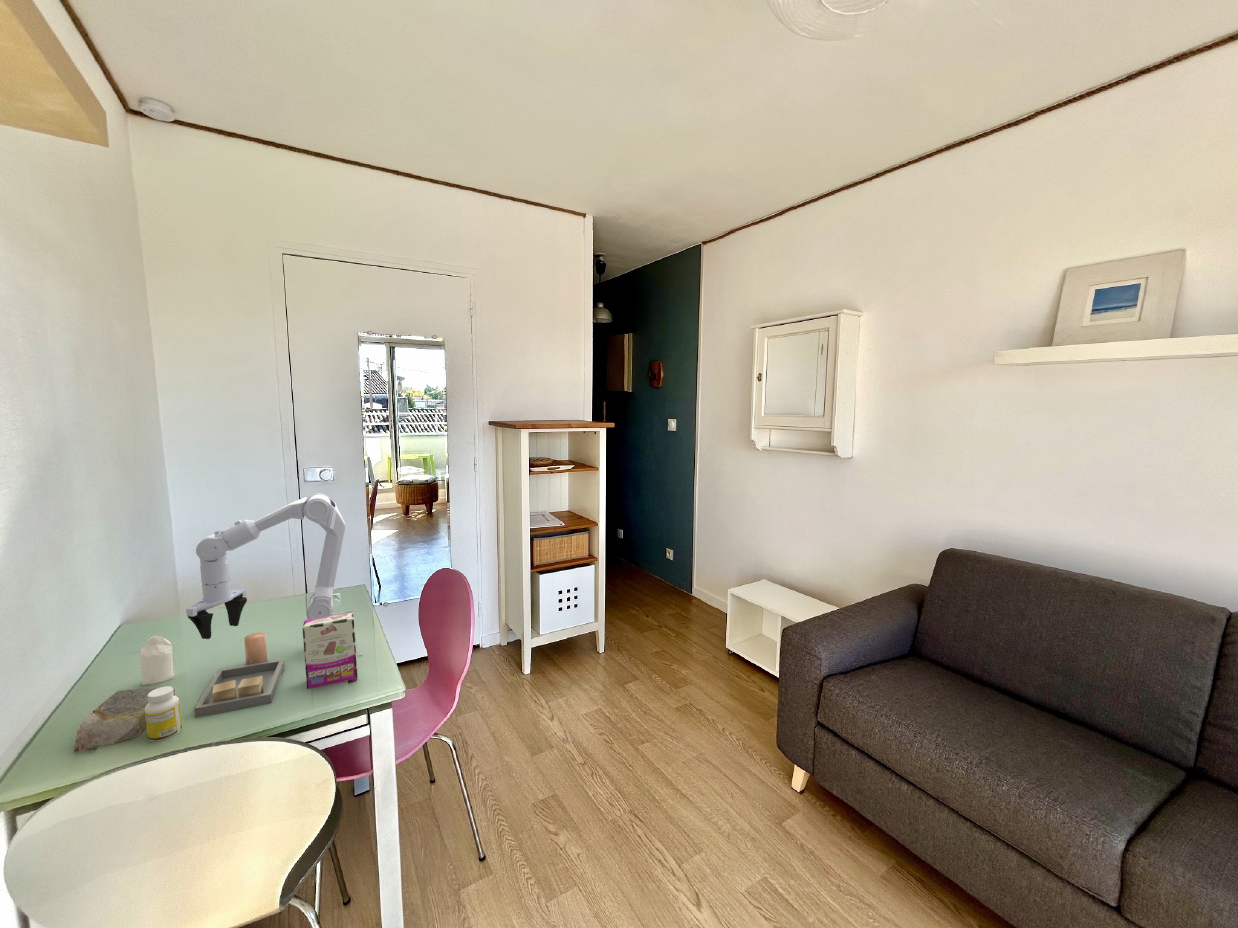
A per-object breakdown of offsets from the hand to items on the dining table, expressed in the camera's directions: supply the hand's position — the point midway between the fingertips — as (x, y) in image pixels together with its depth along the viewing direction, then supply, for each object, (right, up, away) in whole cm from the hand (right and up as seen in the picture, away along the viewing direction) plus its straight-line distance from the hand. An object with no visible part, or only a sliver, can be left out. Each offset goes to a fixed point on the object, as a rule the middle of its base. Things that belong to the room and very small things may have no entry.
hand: (220, 631), depth 133 cm
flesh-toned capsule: (+8, -10, +3) cm, 13 cm away
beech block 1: (+13, -11, -16) cm, 23 cm away
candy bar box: (+32, -11, -5) cm, 34 cm away
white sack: (-11, -11, -5) cm, 16 cm away
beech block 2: (+18, -11, -13) cm, 25 cm away
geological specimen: (-2, -13, -23) cm, 27 cm away
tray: (+14, -11, -10) cm, 20 cm away
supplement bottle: (+9, -13, -26) cm, 31 cm away
